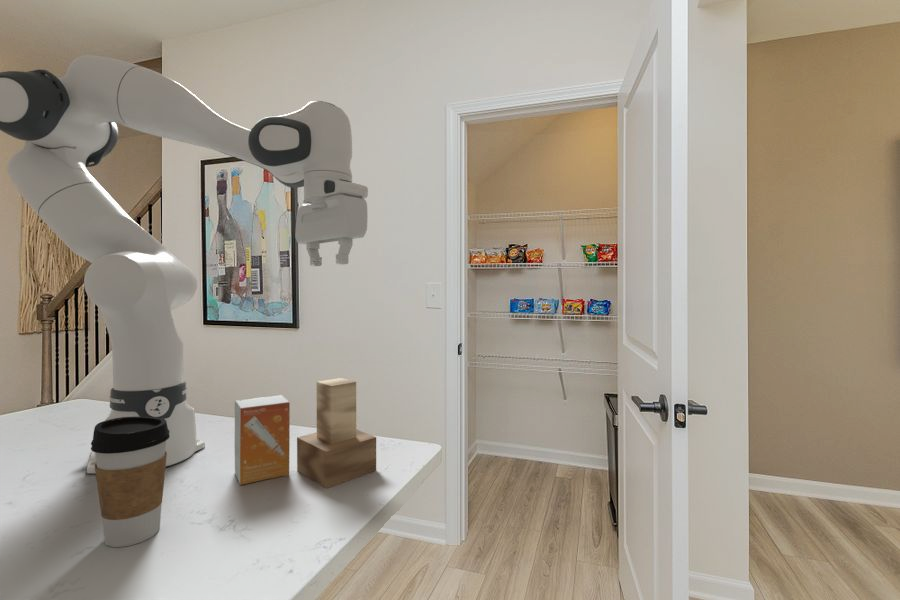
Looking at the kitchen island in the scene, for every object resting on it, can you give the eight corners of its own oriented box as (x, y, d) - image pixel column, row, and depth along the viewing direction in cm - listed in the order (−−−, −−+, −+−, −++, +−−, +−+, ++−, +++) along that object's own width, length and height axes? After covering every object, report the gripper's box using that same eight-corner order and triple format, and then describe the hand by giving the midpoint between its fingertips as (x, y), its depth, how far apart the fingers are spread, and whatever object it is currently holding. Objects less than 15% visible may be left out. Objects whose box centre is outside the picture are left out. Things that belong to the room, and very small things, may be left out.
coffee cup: (120, 519, 62) (118, 413, 62) (183, 517, 63) (182, 412, 62) (74, 555, 54) (72, 432, 53) (147, 551, 54) (146, 431, 54)
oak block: (316, 437, 79) (316, 381, 79) (341, 430, 83) (341, 377, 82) (331, 444, 76) (331, 385, 75) (356, 437, 79) (356, 381, 79)
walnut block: (297, 470, 79) (297, 437, 79) (345, 455, 86) (345, 425, 86) (326, 488, 72) (326, 451, 72) (376, 470, 79) (376, 437, 79)
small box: (239, 486, 73) (239, 407, 72) (234, 473, 78) (233, 399, 78) (290, 475, 77) (290, 401, 77) (282, 463, 82) (281, 394, 82)
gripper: (287, 197, 89) (287, 266, 89) (343, 180, 74) (343, 262, 75) (315, 202, 93) (315, 267, 93) (373, 186, 79) (373, 263, 79)
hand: (328, 265), depth 84 cm, fingers open, 8 cm apart
